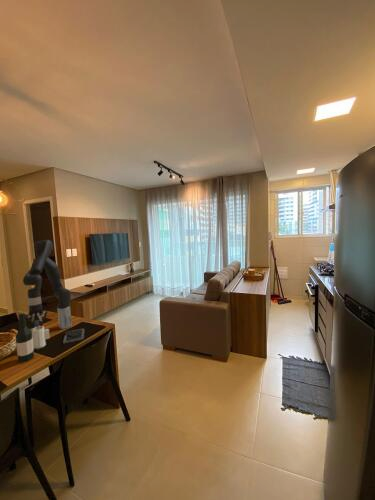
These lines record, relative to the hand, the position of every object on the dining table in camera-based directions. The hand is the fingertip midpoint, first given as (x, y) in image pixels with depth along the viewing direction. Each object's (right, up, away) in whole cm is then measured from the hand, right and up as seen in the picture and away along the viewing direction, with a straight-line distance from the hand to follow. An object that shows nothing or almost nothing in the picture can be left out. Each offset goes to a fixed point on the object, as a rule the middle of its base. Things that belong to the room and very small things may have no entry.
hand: (37, 326), depth 149 cm
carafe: (+2, -14, +2) cm, 14 cm away
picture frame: (+19, -13, +14) cm, 27 cm away
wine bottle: (+3, -16, -13) cm, 21 cm away
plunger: (0, -9, +1) cm, 9 cm away
